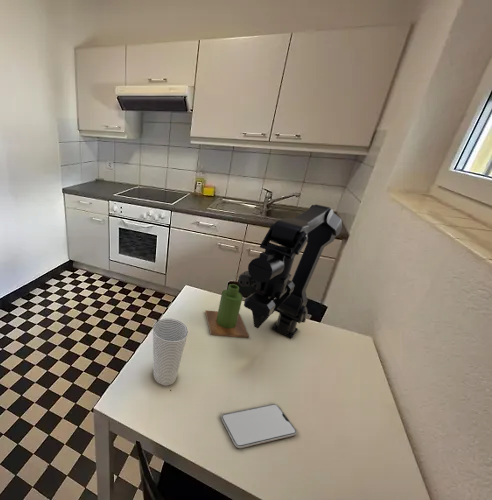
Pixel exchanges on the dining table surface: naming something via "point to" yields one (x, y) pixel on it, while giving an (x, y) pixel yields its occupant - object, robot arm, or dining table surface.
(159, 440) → the dining table surface
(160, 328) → the cup
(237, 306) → the oil bottle
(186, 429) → the dining table surface
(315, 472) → the dining table surface
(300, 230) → the robot arm
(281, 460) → the dining table surface
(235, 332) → the trivet
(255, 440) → the smartphone
